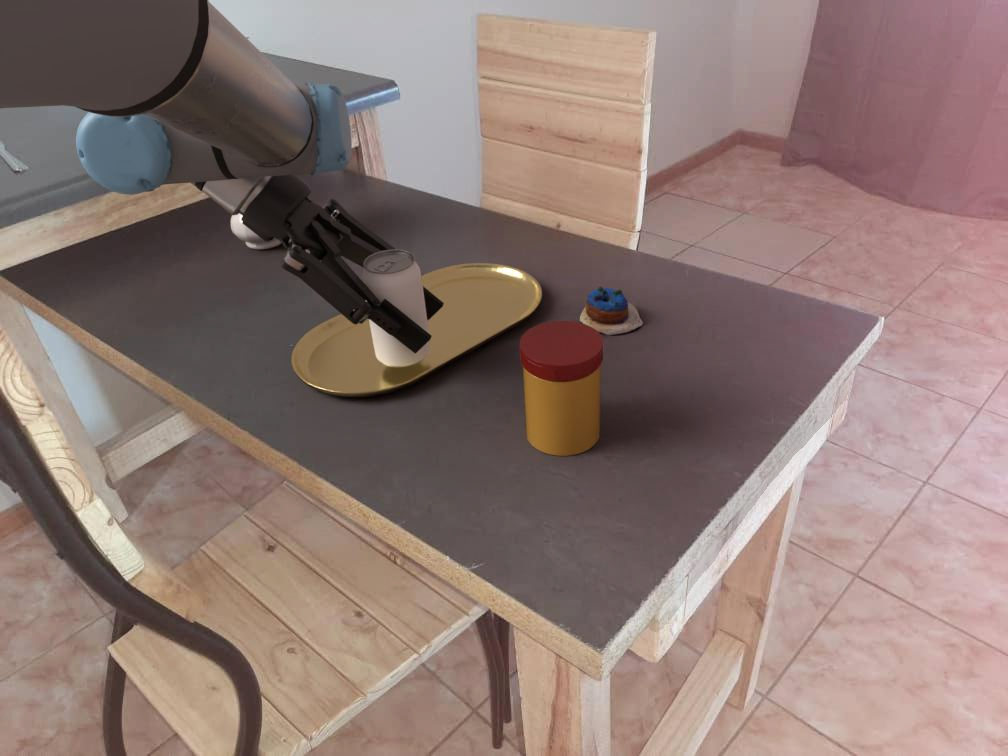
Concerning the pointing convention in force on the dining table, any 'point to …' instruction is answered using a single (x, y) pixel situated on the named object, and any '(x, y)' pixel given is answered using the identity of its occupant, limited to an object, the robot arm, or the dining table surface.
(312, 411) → the dining table surface
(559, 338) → the jar lid
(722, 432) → the dining table surface
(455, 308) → the serving platter
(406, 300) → the can
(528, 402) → the jar
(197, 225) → the dining table surface
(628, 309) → the dessert
